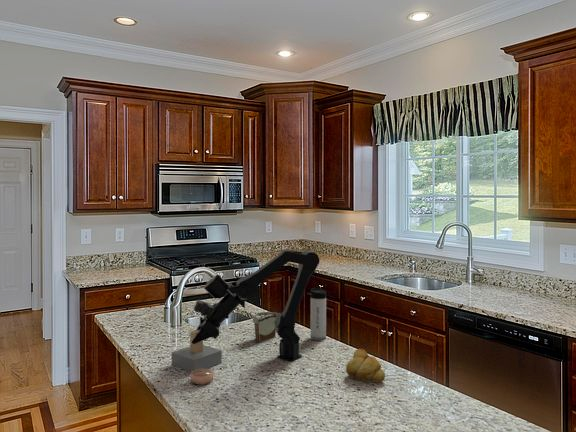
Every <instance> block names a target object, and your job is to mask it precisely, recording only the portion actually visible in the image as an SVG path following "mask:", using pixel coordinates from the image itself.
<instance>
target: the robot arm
mask: <svg viewBox="0 0 576 432" xmlns="http://www.w3.org/2000/svg"><path fill="white" fill-rule="evenodd" d="M320 260H321V259H320V257H319V255H318V254H317V253H316V252H314V251H311V250H303V251H297V250H288V249H283V250H282V251H281V252H280V253H279V254H277V255H276V256H274V257H273V258H271V260H269V261H267V263H265V264H264V265H262V266H261V267H259V268H257V270H255V271H253V272H252V273H251V272H250V273H249V274H246V275H244V276H242V277H241V278H239V279H238V280H236V281H231V282H226V281H225V280H224V279H223V278H222V276H221V275H220V274H219V273H217V274H216V275H215V276H213V277H211V278H210V279H209V280H208V281H207V282H206V283H205V284H204V286H203V289H204V290H205V291H206V292H207V293H208V294H209V295H210V296H211V297H213V299H215V300H218V299H219V301H218V302H214V304H213V305H212V304H211V303H208V302H207V301H204V300H201V299H197V301H196V303H195V304H194V307H193V310H194V312H196V313H200V316H199V325H198V327H197V328H196V330H199V332H198V333H197V335H196V336H195V337H194V339H193V340H192V343H193V344H196V343H198V342H200V341H203V342H204V341H205V340H208V339H210V338H213V339H218V337H219V336H220V327H221V324H222V323H223V322H224V321H225V320H228V319H229V318H230V317H229V316H230V315H231V314H232V313H233V312H234V310H235V309H236V308H238V307H239V305H240V306H241V307H242V308H244V309H245V307H246V298H248V297H250V296H252V294H254V292H255V291H256V290H257V289H258V287H260V285H261V284H262V283H263V281H265V280H266V279H268V278H269V277H271V276H272V275H273V274H274V273H276V272H277V271H278V270H280V269H281V268H283V267H284V266H285V265H286V264H288V263H293V264H297V265H298V268H297V275H296V278H295V281H294V283H293V286H292V289H291V292H290V294H289V297H288V300H287V302H286V305H285V308H284V310H283V311H282V312H281V313H280V312H276V313H277V318H276V320H275V321H274V324H275V330H276V334H277V335H278V337H279V338H281V339H279V344H278V346H279V350H278V351H279V352H278V353H279V355H277V356H276V357H277V358H278V359H281V360H285V361H288V362H293V361H296V360H297V359H299V358H302V354H300V339H301V338H300V336H299V335H298V333H297V332H296V331H295V327H296V315H297V313H298V309H299V306H300V303H301V301H302V299H303V296H304V293H305V290H306V289H307V288H306V287H307V285H308V282H309V279H310V278H311V276H312V275H313V273H314V272H315V271H316V269H317V268H318V266H319V264H320ZM241 297H242V298H241Z"/></svg>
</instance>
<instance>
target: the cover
mask: <svg viewBox="0 0 576 432" xmlns="http://www.w3.org/2000/svg"><path fill="white" fill-rule="evenodd" d="M198 332H199V330H197V329H195V330H194V329H193V330H190V331H189V338H190V342H189V343H190V346H186V347H183V348H181V349H178V350H177V349H176V350H175V351H172V352H171V366H173V367H176V368H179V369H180V370H181V369H182V370H185V371H188V372H190V373H191V372H192V371H194V370H197V369H210V368H212V367H215V366H218V365H220V364H222V363H223V362H222V360H223V359H222V356H223V355H222V350H221V349H219V348H214V347H211V346H207V345H205V344H204V340H203V341H200V342H198V343H196V344H193V343H192V340H193V339H194V337H195V336H196V335H197V333H198Z"/></svg>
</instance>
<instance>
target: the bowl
mask: <svg viewBox="0 0 576 432" xmlns="http://www.w3.org/2000/svg"><path fill="white" fill-rule="evenodd" d="M213 380H214V371H213V370H212V369H210V368H207V369H197V370H194V371H192V372H190V382H191V383H193V384H196V385H206V384H209V383H210V382H212V381H213Z"/></svg>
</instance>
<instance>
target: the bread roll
mask: <svg viewBox="0 0 576 432" xmlns="http://www.w3.org/2000/svg"><path fill="white" fill-rule="evenodd" d="M345 371H346V373H347V375H348V376H349V377H350V378H353V379H354V378H355V379H356V380H358V381H361V382H371V383H380V382H383V381H384V380H385V378H386V374H385V371H384V370H383V369H382V364H381V362H380V361H379V360H378V359H377V358H375V357H373V356H370V355H369V354H368V352H367V351H366V350H365V349H363V348H358V349H357V348H356V349H355V351H354V352H353V356H352V358H351V359H350V360H349V361H348V362H347V363H346V367H345Z"/></svg>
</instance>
